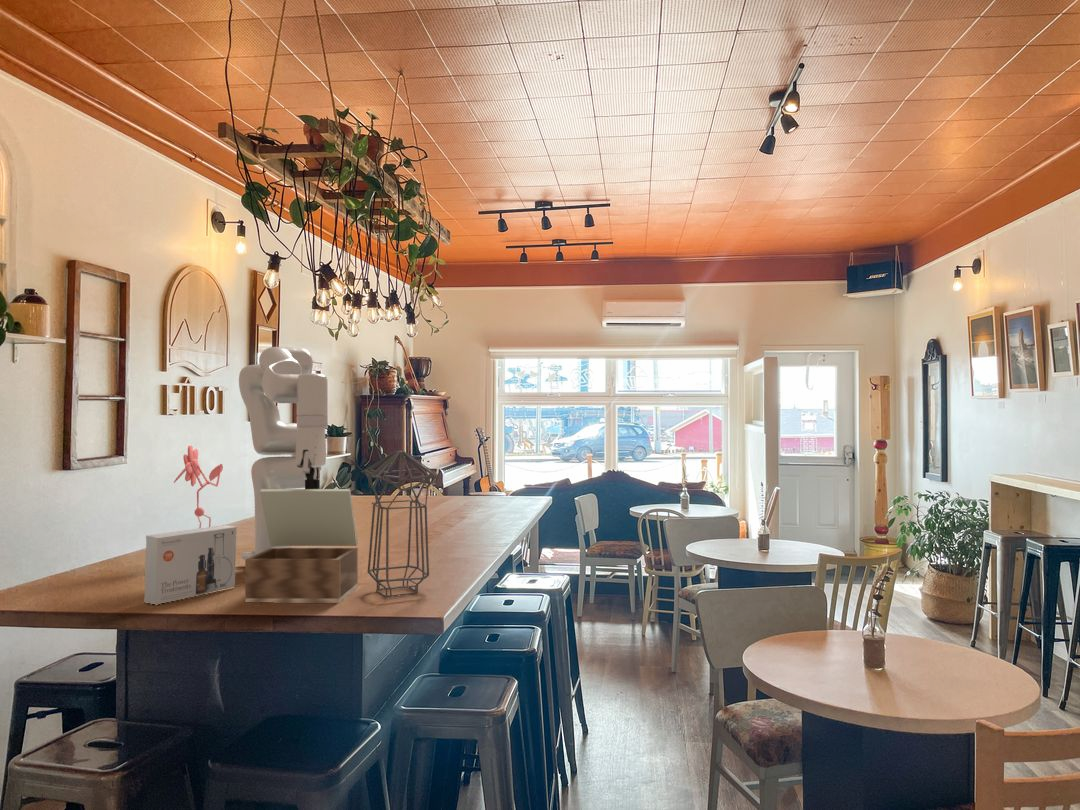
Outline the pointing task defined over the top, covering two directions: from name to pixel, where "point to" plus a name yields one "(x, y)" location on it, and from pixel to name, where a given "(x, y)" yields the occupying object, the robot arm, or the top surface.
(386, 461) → the geometric lantern
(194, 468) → the figurine
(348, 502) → the lid
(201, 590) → the skincare box
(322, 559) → the walnut box
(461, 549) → the top surface
